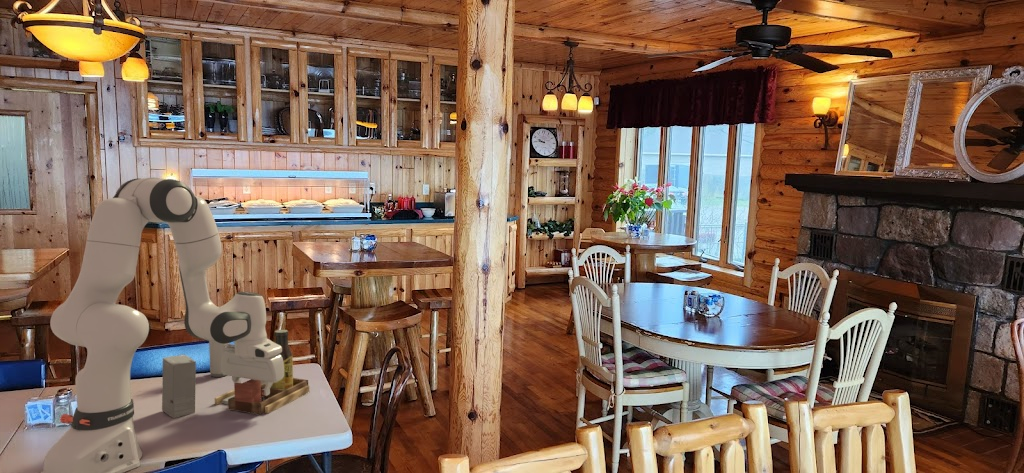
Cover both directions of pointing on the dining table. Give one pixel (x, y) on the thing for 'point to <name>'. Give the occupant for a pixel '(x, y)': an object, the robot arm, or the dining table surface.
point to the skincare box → (178, 385)
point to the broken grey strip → (233, 396)
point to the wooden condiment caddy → (259, 395)
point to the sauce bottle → (284, 360)
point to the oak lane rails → (273, 405)
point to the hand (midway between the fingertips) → (252, 392)
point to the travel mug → (216, 358)
